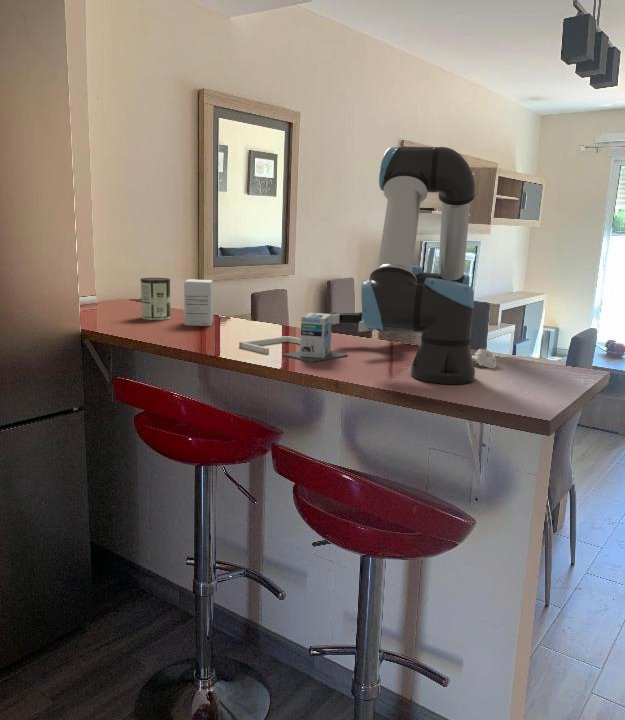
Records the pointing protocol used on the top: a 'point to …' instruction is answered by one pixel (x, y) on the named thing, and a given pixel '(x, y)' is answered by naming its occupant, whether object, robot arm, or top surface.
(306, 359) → the rubber mat
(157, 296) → the coffee can
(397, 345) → the top surface
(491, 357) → the whitish grey rock
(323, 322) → the light bulb box
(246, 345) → the grey bent bar
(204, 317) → the supplement box
